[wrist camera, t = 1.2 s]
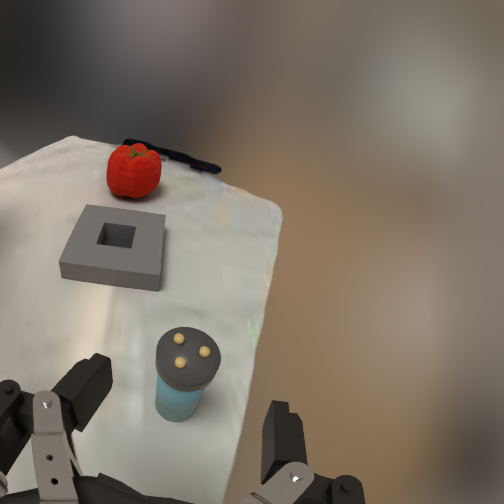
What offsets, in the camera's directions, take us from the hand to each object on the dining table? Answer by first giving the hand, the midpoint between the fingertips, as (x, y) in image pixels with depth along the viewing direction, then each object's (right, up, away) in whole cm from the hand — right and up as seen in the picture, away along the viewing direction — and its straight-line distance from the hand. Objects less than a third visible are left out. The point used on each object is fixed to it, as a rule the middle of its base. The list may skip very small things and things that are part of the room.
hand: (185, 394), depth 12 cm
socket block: (-20, +7, +32) cm, 39 cm away
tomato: (-25, +21, +49) cm, 59 cm away
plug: (-6, -11, +17) cm, 21 cm away
